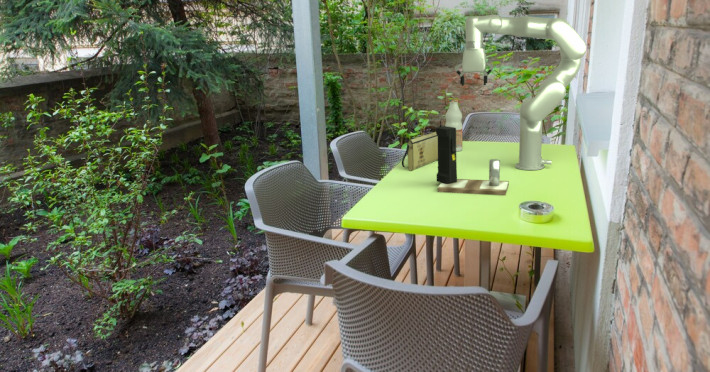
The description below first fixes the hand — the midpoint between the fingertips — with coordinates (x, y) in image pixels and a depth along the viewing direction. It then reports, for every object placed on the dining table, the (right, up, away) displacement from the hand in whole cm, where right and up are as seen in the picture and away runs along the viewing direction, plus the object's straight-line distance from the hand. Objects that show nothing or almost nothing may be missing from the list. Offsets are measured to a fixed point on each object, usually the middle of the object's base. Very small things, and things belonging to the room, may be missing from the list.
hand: (473, 85), depth 223 cm
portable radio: (-15, -44, -19) cm, 50 cm away
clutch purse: (-21, -35, +22) cm, 47 cm away
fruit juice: (+1, -26, +52) cm, 58 cm away
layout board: (-6, -46, -23) cm, 52 cm away
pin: (+2, -45, -27) cm, 52 cm away
